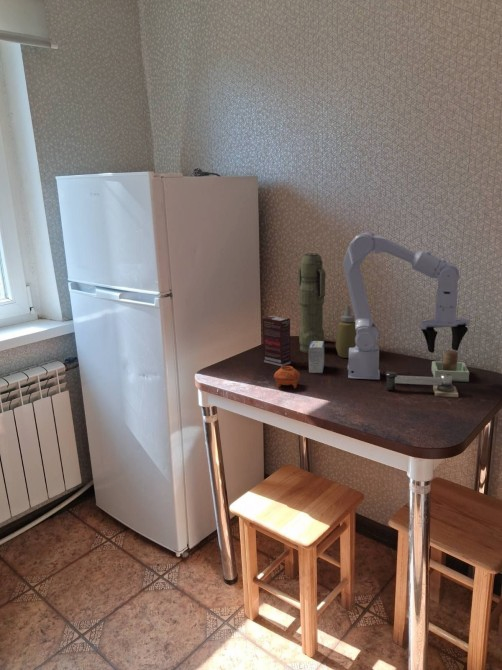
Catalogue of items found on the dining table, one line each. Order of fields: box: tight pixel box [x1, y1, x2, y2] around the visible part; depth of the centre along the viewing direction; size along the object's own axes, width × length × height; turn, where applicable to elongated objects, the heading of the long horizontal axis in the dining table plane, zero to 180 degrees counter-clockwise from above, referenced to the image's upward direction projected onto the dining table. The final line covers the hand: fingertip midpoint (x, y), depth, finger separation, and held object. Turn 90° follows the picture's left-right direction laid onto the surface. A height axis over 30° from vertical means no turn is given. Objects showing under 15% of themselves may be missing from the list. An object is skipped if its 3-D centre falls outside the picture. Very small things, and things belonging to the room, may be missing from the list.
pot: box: [273, 365, 301, 390], centre depth 160 cm, size 8×8×7 cm
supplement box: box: [262, 314, 292, 367], centre depth 181 cm, size 9×5×16 cm, turn 46°
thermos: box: [298, 253, 326, 354], centre depth 192 cm, size 9×12×35 cm
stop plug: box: [442, 349, 459, 371], centre depth 164 cm, size 4×4×7 cm
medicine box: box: [308, 340, 325, 374], centre depth 174 cm, size 8×4×9 cm, turn 168°
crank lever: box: [385, 371, 453, 391], centre depth 152 cm, size 18×3×5 cm, turn 77°
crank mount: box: [398, 374, 459, 398], centre depth 157 cm, size 16×16×2 cm
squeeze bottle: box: [335, 304, 356, 359], centre depth 186 cm, size 8×8×18 cm
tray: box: [431, 360, 470, 383], centre depth 165 cm, size 10×10×3 cm
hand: (442, 350), depth 158 cm, fingers open, 7 cm apart
